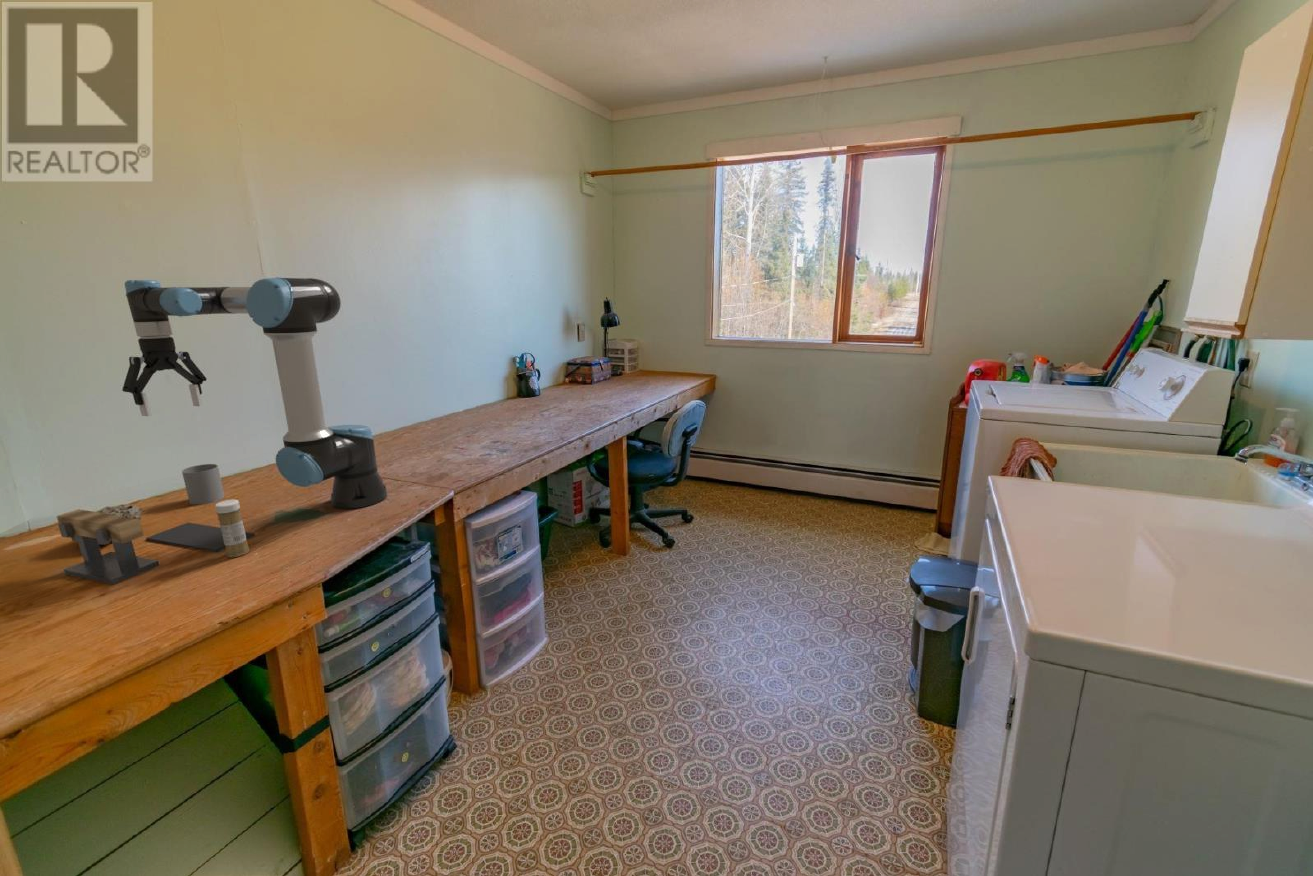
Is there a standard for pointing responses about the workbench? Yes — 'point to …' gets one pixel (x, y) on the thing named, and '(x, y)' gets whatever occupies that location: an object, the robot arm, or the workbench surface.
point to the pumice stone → (119, 513)
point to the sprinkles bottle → (232, 528)
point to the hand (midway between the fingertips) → (173, 410)
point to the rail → (102, 525)
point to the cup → (203, 484)
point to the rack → (106, 558)
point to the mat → (194, 537)
